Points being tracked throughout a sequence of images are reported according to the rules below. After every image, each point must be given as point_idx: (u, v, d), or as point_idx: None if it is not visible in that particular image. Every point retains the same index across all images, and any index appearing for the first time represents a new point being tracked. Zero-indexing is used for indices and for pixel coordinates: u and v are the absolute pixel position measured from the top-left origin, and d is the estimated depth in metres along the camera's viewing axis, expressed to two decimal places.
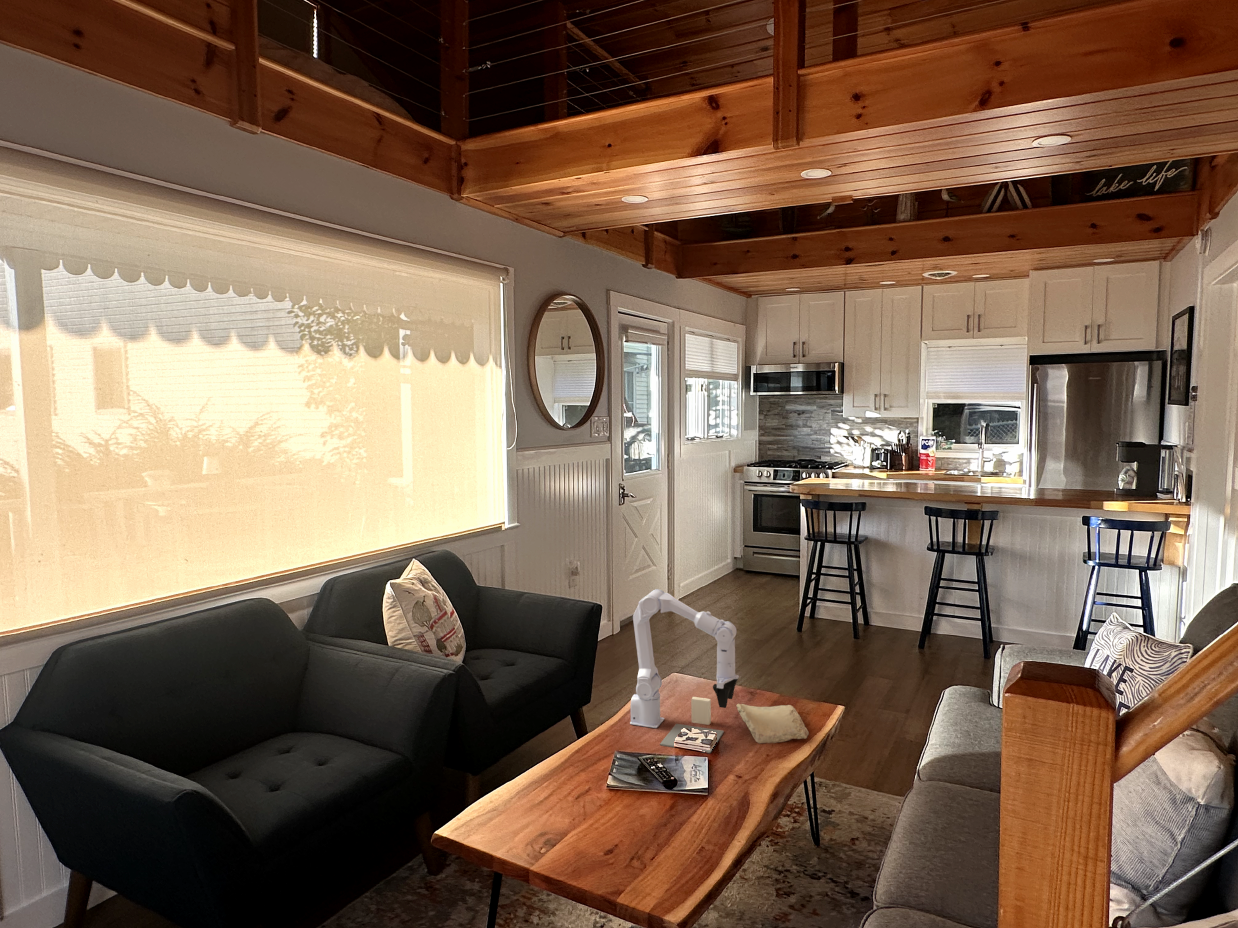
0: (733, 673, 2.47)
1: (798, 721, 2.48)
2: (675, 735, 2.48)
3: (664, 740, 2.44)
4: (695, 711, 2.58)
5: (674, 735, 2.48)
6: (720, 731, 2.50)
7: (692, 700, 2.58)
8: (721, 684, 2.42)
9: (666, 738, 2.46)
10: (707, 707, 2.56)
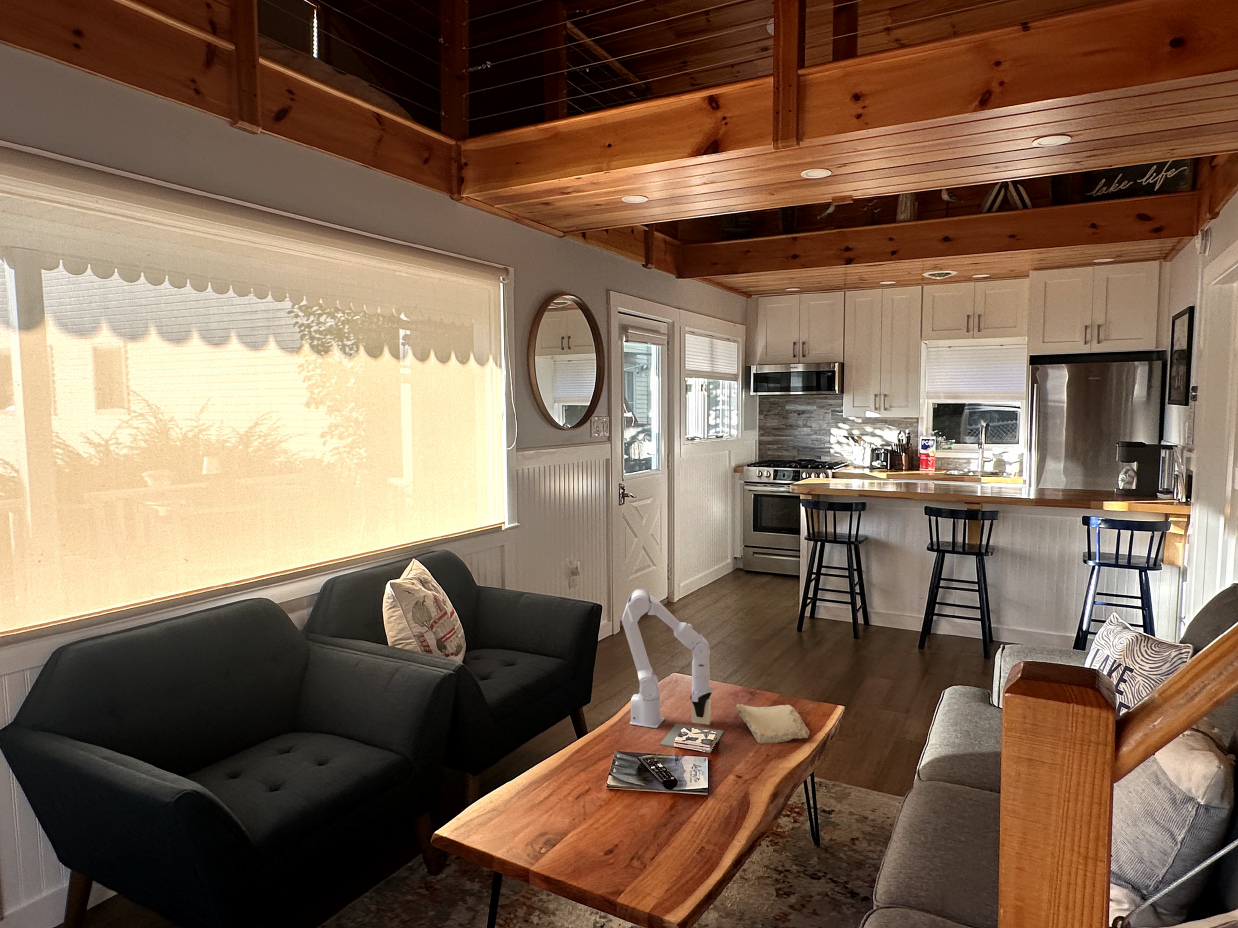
0: (707, 687, 2.56)
1: (798, 721, 2.48)
2: (675, 735, 2.48)
3: (664, 740, 2.44)
4: None
5: (674, 735, 2.48)
6: (720, 731, 2.50)
7: None
8: (696, 698, 2.51)
9: (666, 738, 2.46)
10: (707, 707, 2.56)
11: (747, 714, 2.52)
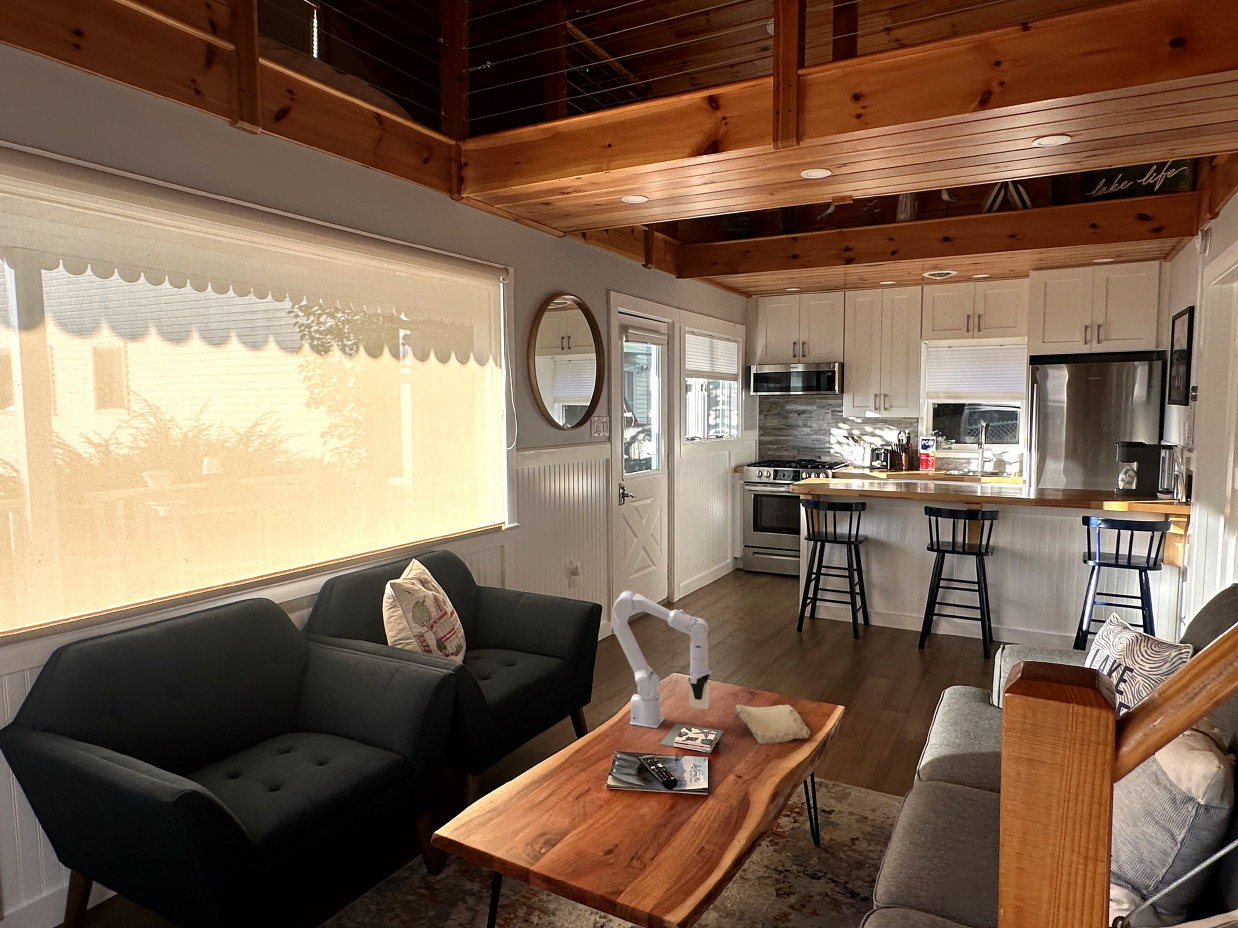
0: (706, 668, 2.53)
1: (799, 721, 2.48)
2: (675, 735, 2.48)
3: (664, 740, 2.44)
4: (693, 696, 2.55)
5: (674, 735, 2.48)
6: (720, 731, 2.50)
7: (690, 684, 2.55)
8: (694, 679, 2.48)
9: (666, 738, 2.46)
10: (705, 691, 2.53)
11: (747, 715, 2.52)
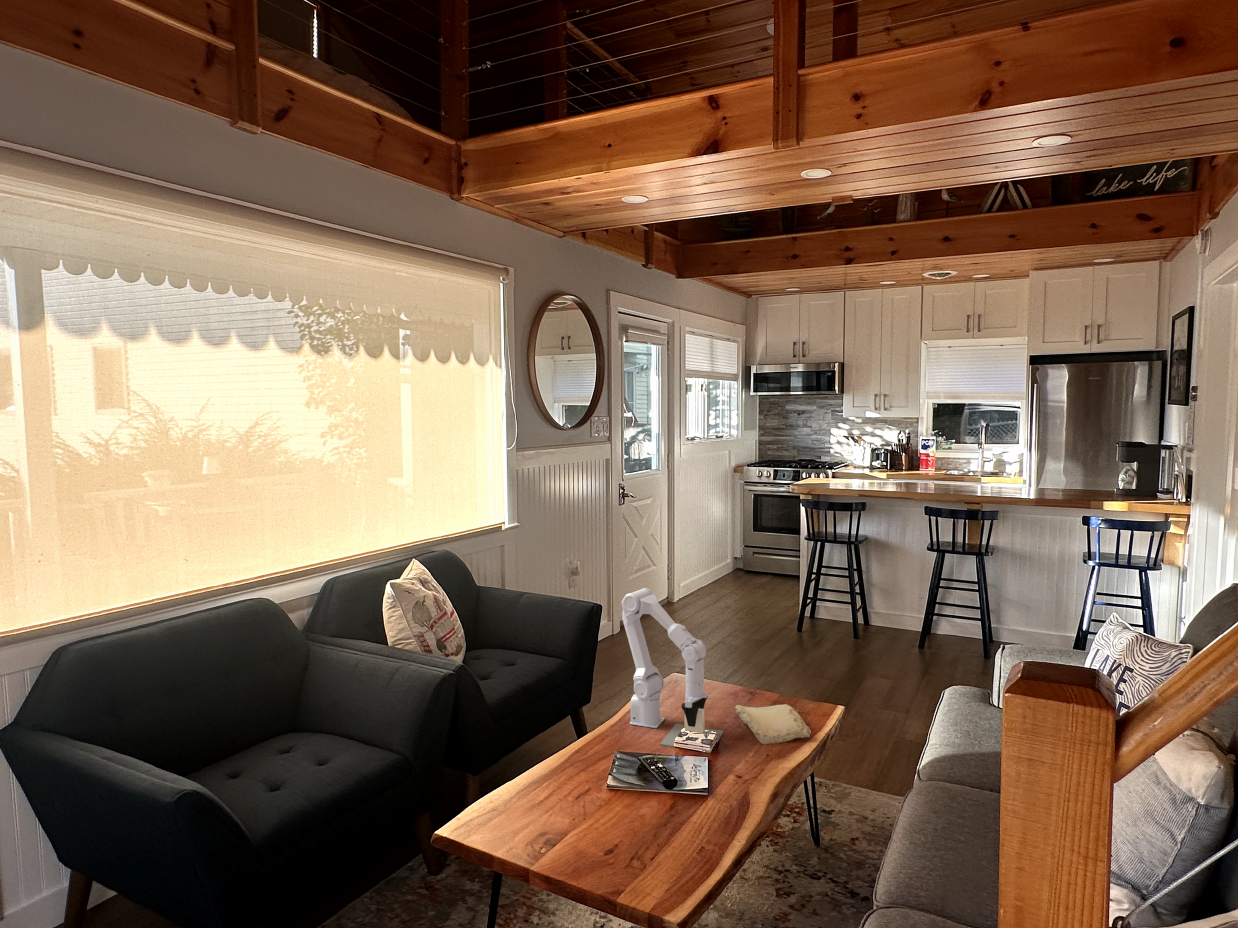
0: (702, 692, 2.46)
1: (799, 720, 2.49)
2: (675, 735, 2.48)
3: (664, 740, 2.44)
4: None
5: (674, 735, 2.48)
6: (720, 731, 2.50)
7: None
8: (690, 703, 2.41)
9: (666, 738, 2.46)
10: (701, 717, 2.47)
11: (747, 715, 2.52)
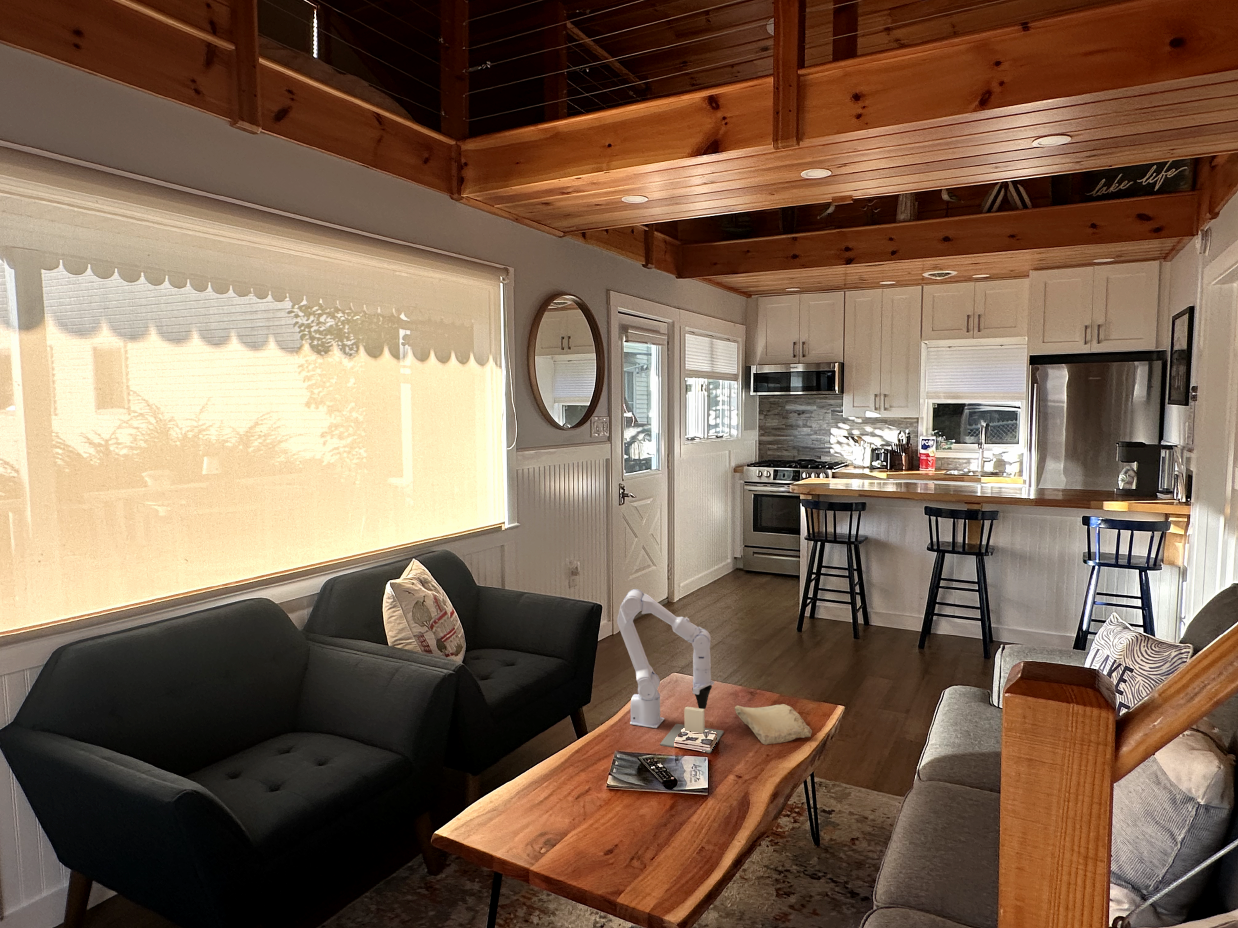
0: (709, 679, 2.53)
1: (799, 720, 2.49)
2: (675, 735, 2.48)
3: (664, 740, 2.44)
4: (688, 722, 2.48)
5: (674, 735, 2.48)
6: (720, 731, 2.50)
7: (685, 710, 2.48)
8: (697, 690, 2.48)
9: (666, 738, 2.46)
10: (701, 717, 2.47)
11: (748, 715, 2.51)
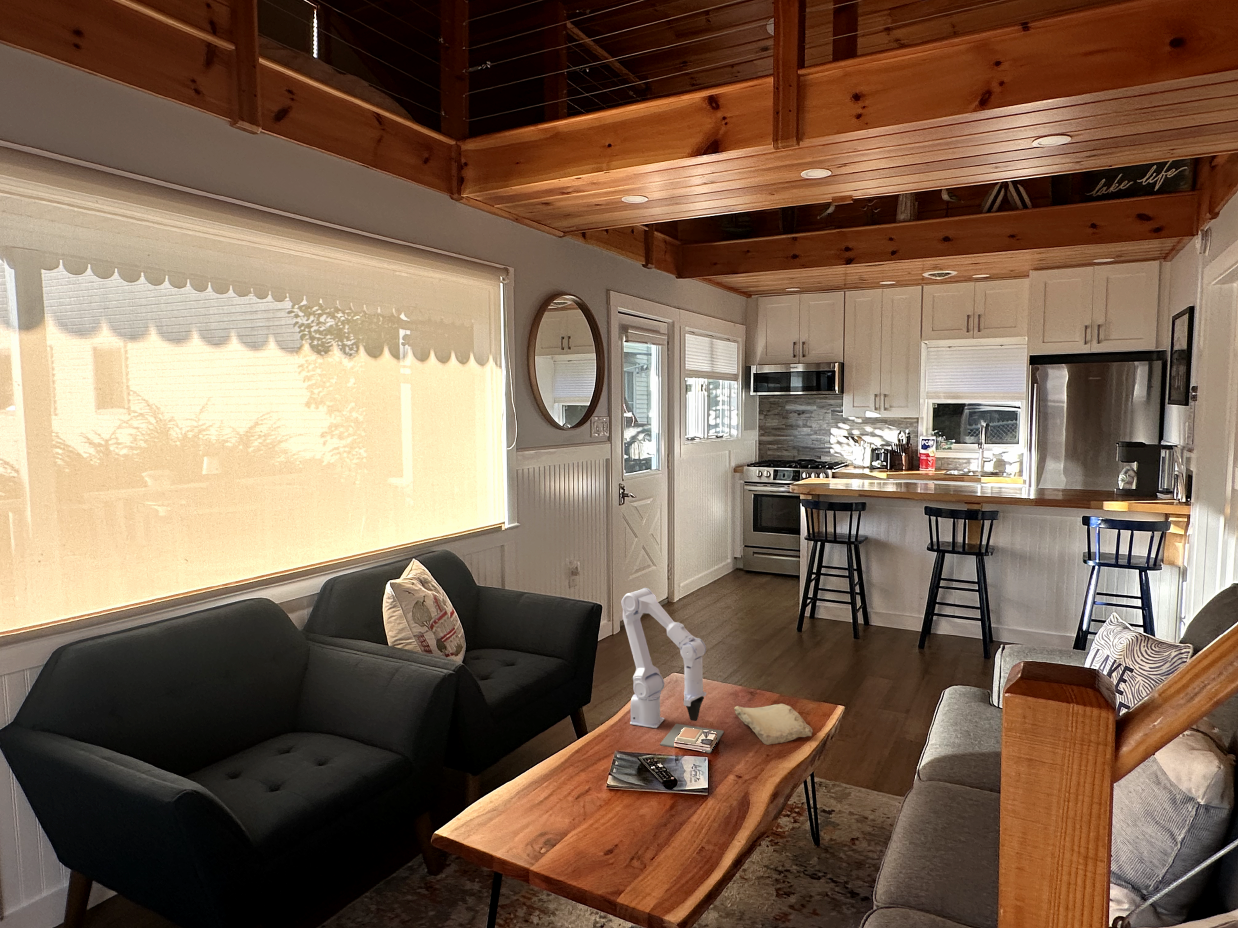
0: (701, 690, 2.45)
1: (799, 719, 2.49)
2: (675, 735, 2.48)
3: (664, 740, 2.44)
4: None
5: (674, 735, 2.48)
6: (720, 731, 2.50)
7: None
8: (688, 702, 2.40)
9: (666, 738, 2.46)
10: None
11: (748, 716, 2.51)
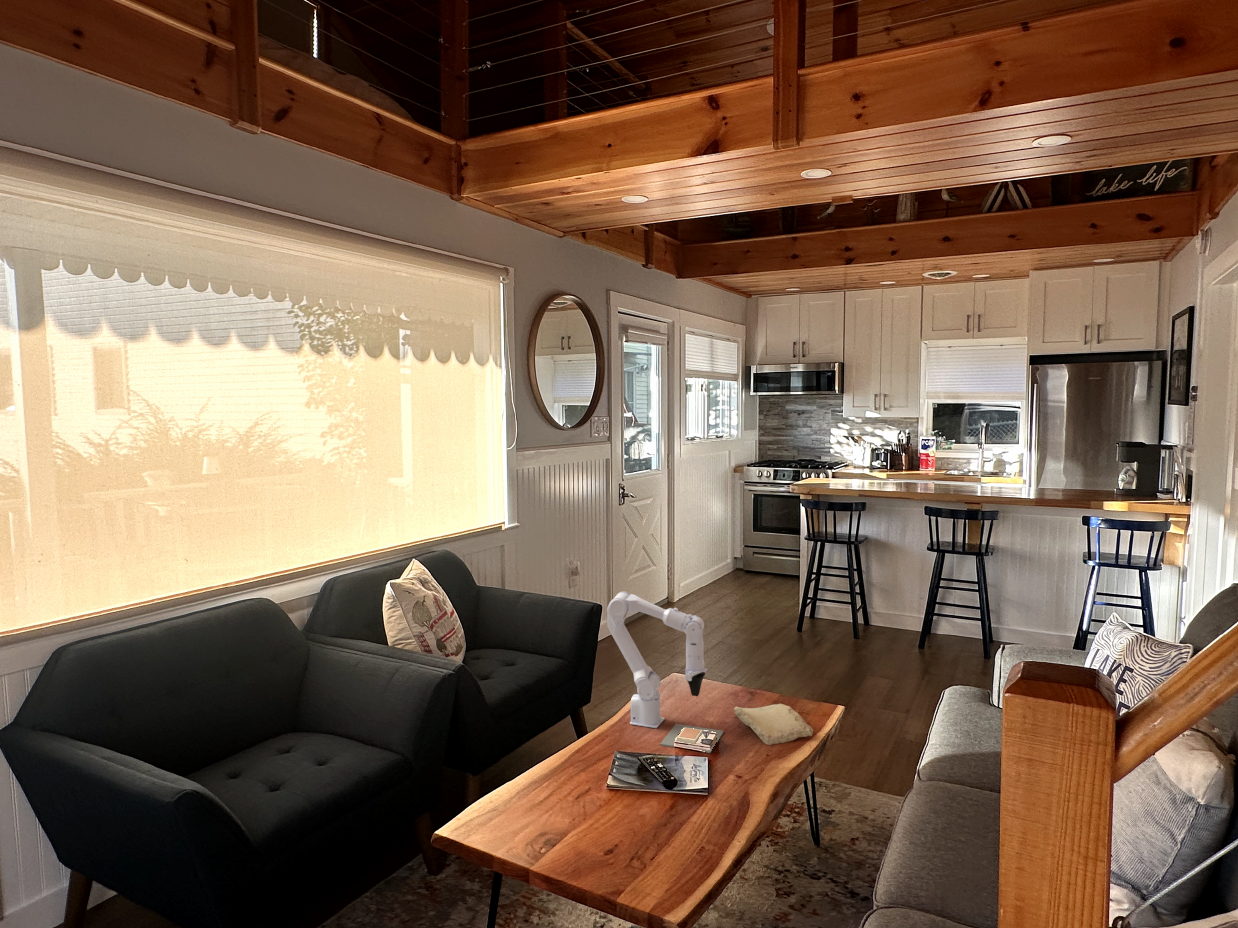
0: (702, 666, 2.52)
1: (800, 719, 2.50)
2: (675, 735, 2.48)
3: (664, 740, 2.44)
4: None
5: (674, 735, 2.48)
6: (720, 731, 2.50)
7: None
8: (689, 677, 2.47)
9: (666, 738, 2.46)
10: None
11: (749, 716, 2.51)
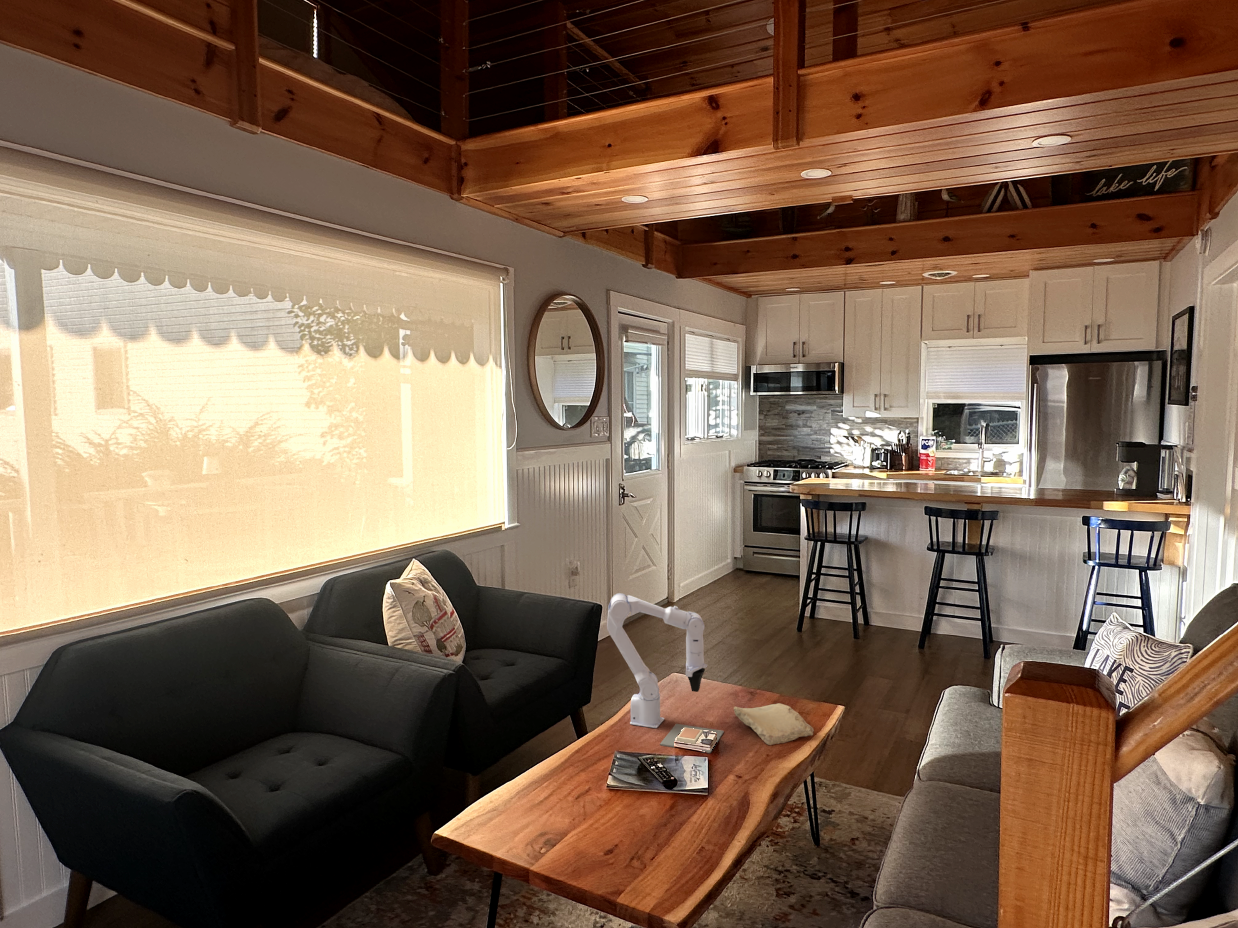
0: (702, 662, 2.56)
1: (800, 718, 2.50)
2: (675, 735, 2.48)
3: (664, 740, 2.44)
4: None
5: (674, 735, 2.48)
6: (720, 731, 2.50)
7: None
8: (690, 673, 2.51)
9: (666, 738, 2.46)
10: None
11: (749, 716, 2.50)
